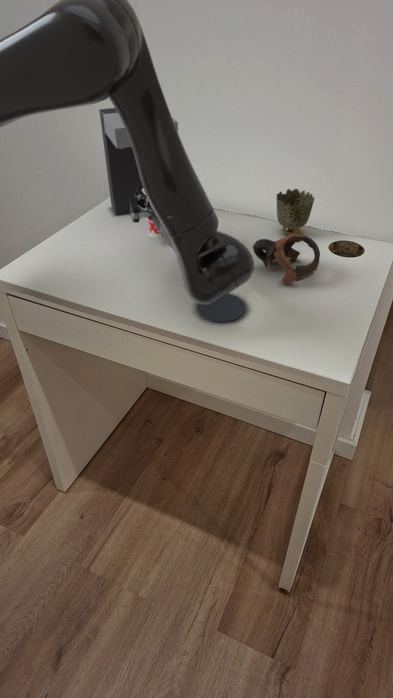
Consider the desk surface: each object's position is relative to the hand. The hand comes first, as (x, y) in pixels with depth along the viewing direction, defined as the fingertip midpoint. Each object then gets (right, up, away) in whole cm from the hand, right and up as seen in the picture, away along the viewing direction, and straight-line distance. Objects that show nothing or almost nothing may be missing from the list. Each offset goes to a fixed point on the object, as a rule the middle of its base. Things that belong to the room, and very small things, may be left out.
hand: (154, 190), depth 94 cm
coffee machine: (-3, -2, +13) cm, 14 cm away
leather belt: (+24, -17, -5) cm, 30 cm away
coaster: (+12, -24, -14) cm, 30 cm away
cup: (+28, -7, +7) cm, 30 cm away
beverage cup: (+1, -8, +3) cm, 9 cm away
